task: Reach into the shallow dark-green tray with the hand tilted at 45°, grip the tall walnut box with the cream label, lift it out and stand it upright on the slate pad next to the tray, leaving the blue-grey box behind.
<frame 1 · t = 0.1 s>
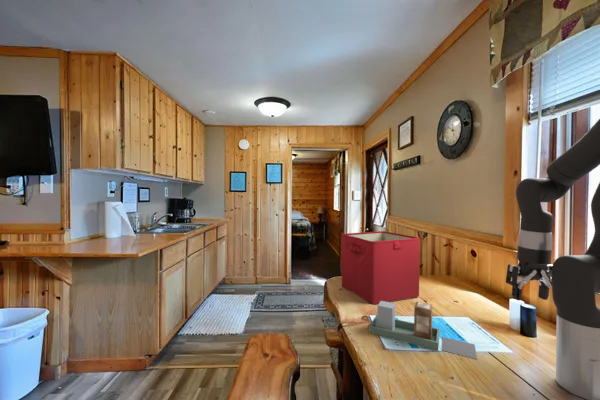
hand: (529, 299, 79), 17 cm above the table, tool pointing down, fingers open, 8 cm apart
parts bin: (404, 335, 91), on the table
label box: (423, 338, 88), resting on parts bin
storage cube: (378, 292, 133), on the table
slate pad: (458, 349, 83), on the table
plain box: (386, 329, 94), resting on parts bin
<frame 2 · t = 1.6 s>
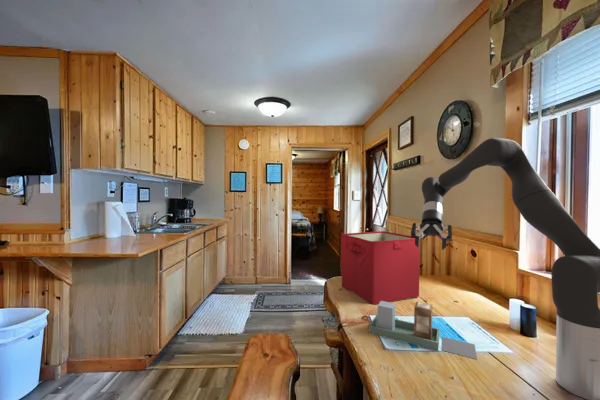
hand: (430, 247, 99), 29 cm above the table, tool tilted 45°, fingers open, 8 cm apart
nothing on the table moved.
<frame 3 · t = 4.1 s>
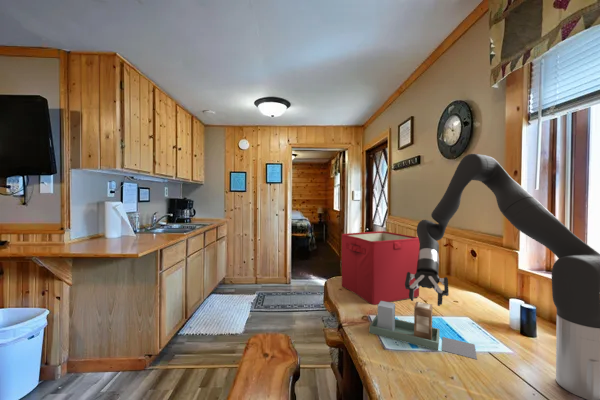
hand: (425, 302, 92), 11 cm above the table, tool tilted 45°, fingers open, 8 cm apart
nothing on the table moved.
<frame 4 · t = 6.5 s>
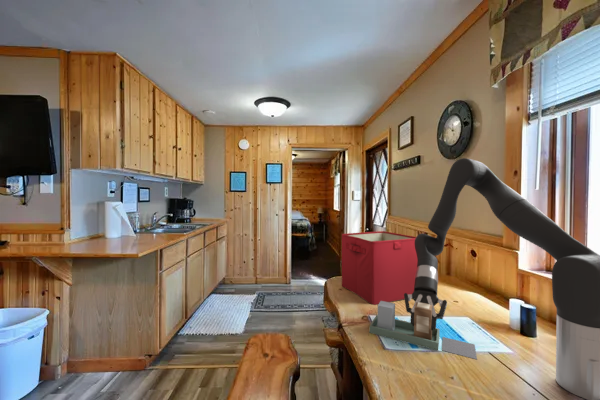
hand: (422, 327, 86), 5 cm above the table, tool tilted 45°, fingers closed on label box, 5 cm apart
label box: (423, 338, 88), resting on parts bin, touching gripper
everything else where it was.
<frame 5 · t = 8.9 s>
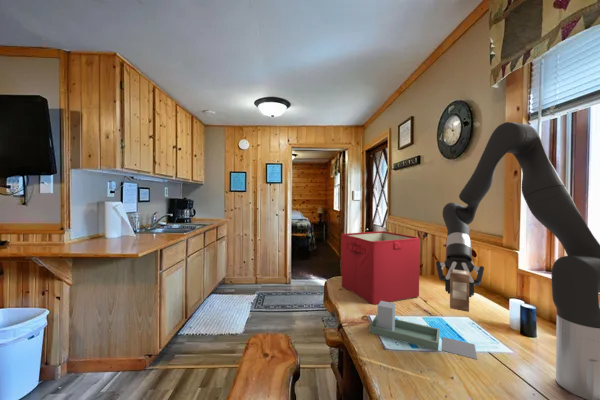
hand: (459, 294, 81), 18 cm above the table, tool tilted 45°, fingers closed on label box, 5 cm apart
label box: (459, 307, 83), point 13 cm above the table, touching gripper
everything else where it was.
when the fingers open (7 cm above the table, at t = 11.4 s): label box drops 2 cm, resting on slate pad.
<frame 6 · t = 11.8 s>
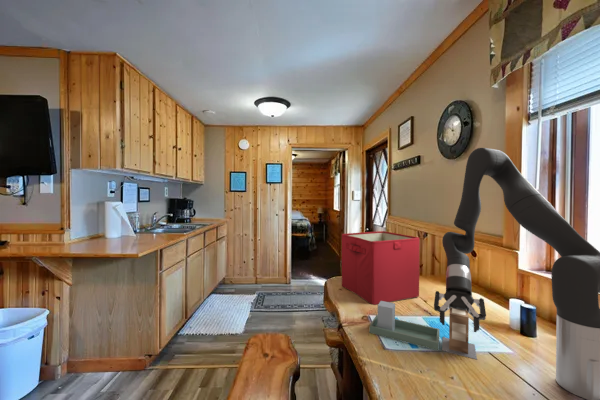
hand: (458, 327, 81), 7 cm above the table, tool tilted 45°, fingers open, 8 cm apart
label box: (458, 346, 83), point 1 cm above the table, touching slate pad
everything else where it was.
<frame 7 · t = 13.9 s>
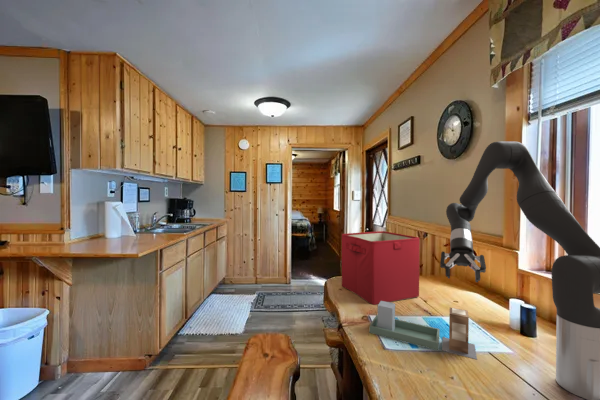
hand: (462, 279, 94), 19 cm above the table, tool tilted 45°, fingers open, 8 cm apart
nothing on the table moved.
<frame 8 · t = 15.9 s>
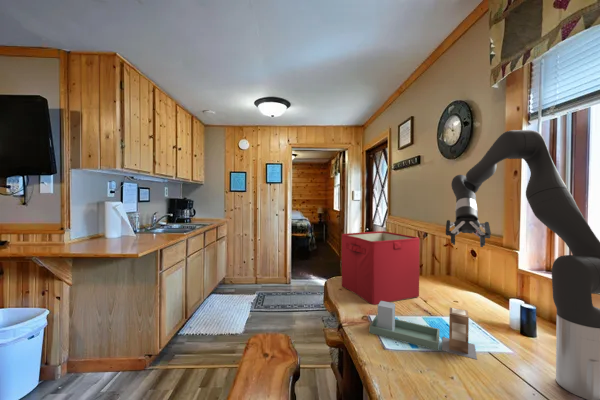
hand: (467, 244, 96), 31 cm above the table, tool tilted 45°, fingers open, 8 cm apart
nothing on the table moved.
at the end: label box inside the target area on the slate pad (0.1 cm from its centre), point 0.6 cm above the slate pad's base; label box tilted 0°; the gripper is holding nothing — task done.
